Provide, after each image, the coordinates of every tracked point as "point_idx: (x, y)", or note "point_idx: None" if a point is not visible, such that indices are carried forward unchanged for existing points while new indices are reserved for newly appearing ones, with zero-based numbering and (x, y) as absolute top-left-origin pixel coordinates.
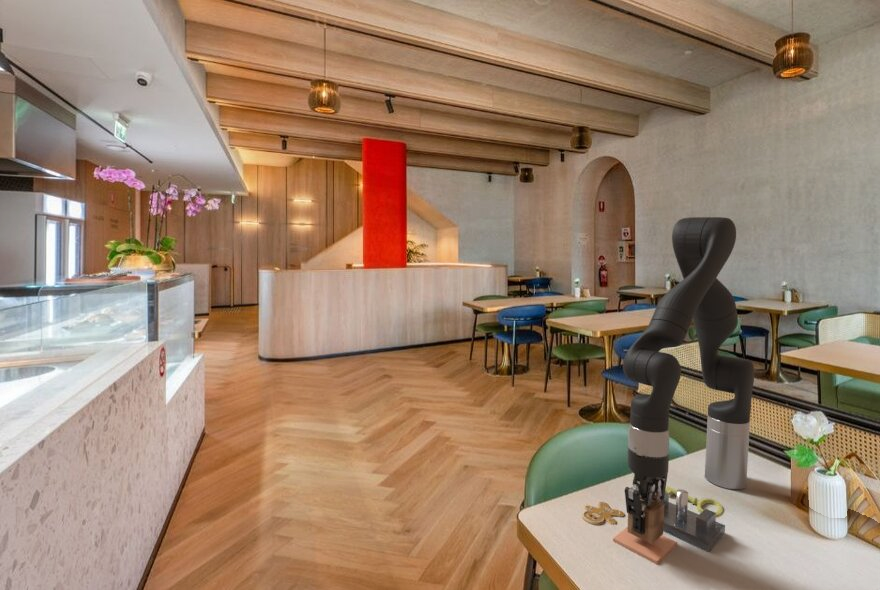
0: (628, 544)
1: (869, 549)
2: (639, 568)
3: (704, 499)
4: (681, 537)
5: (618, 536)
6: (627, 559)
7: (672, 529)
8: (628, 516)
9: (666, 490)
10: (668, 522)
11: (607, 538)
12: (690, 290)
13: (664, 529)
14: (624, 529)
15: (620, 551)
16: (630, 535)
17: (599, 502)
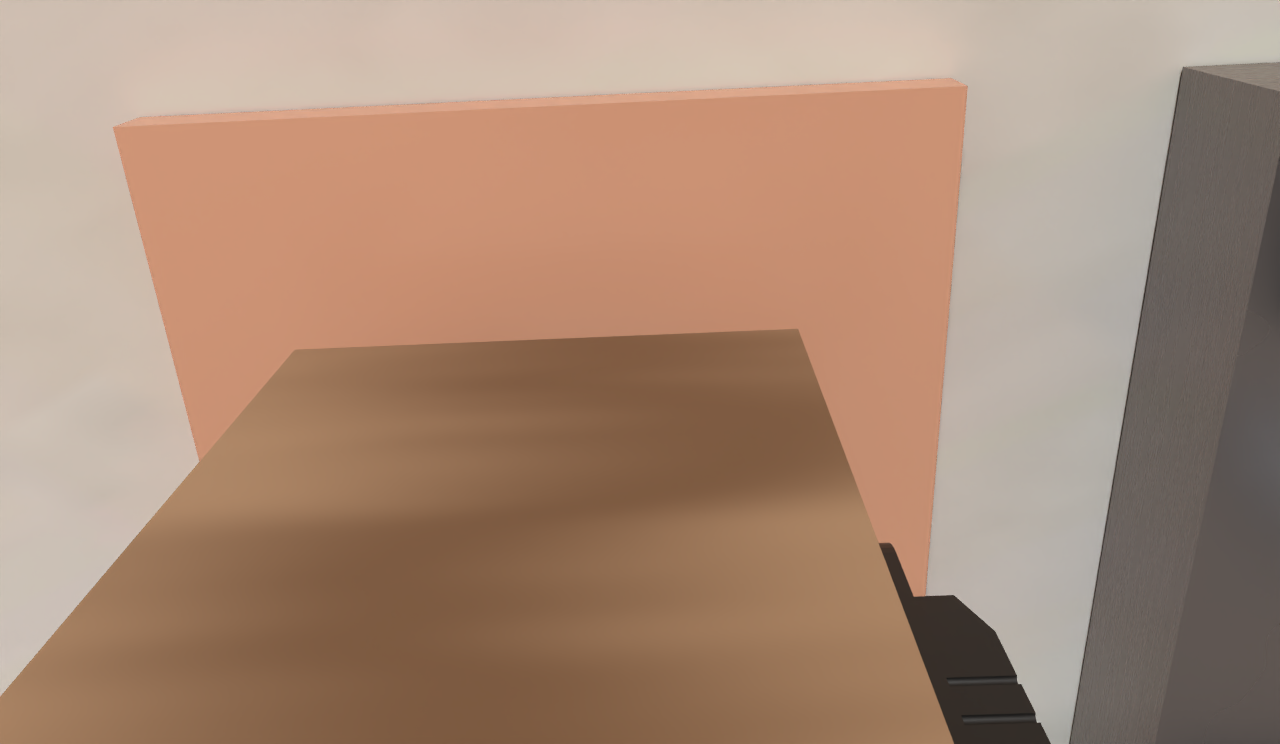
0: (223, 389)
1: None
2: (21, 655)
3: None
4: (1088, 727)
5: (253, 162)
6: (7, 491)
7: (1138, 661)
8: (132, 556)
9: None
10: (1246, 619)
11: (107, 6)
12: None
13: (1127, 517)
14: (546, 113)
15: (48, 342)
16: (476, 281)
17: None
